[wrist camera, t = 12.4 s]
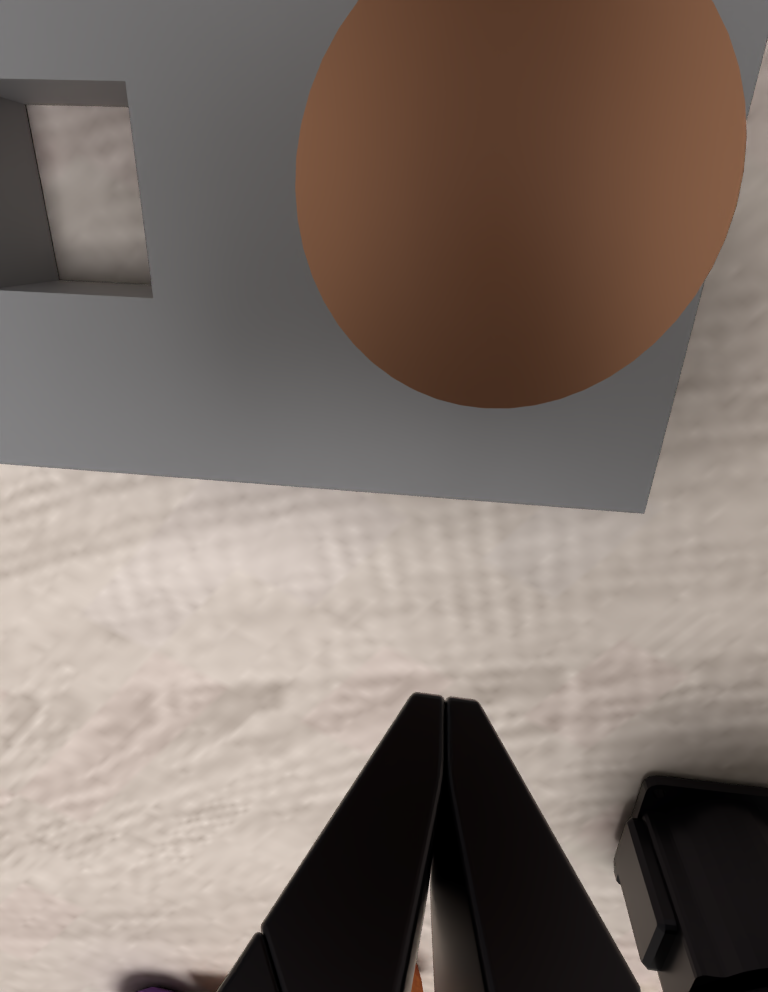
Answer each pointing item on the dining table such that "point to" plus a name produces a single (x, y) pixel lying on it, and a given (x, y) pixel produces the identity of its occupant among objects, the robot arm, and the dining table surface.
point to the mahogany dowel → (518, 186)
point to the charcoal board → (257, 285)
